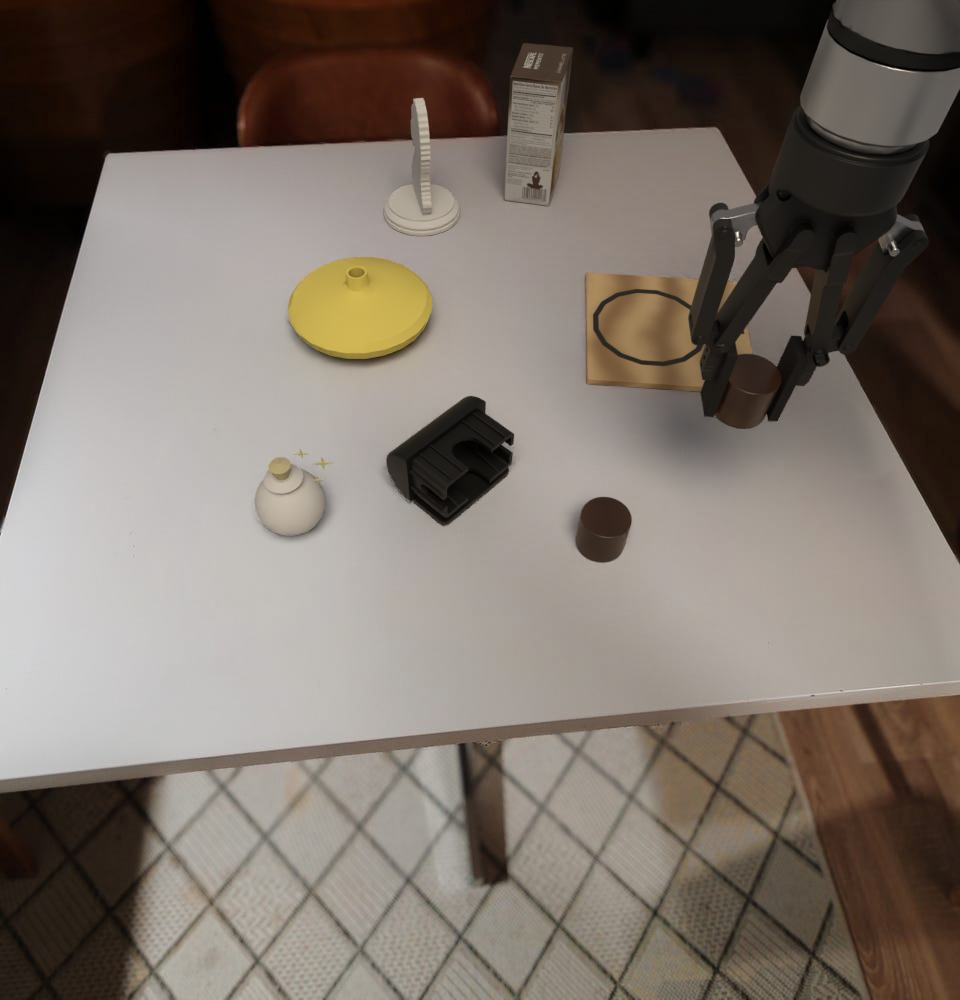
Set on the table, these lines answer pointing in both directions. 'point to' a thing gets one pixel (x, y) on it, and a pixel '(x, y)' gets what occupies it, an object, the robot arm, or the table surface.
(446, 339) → the table surface
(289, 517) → the ornament
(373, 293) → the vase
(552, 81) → the coffee box
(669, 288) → the drawing board
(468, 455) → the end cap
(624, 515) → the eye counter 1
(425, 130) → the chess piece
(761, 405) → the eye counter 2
